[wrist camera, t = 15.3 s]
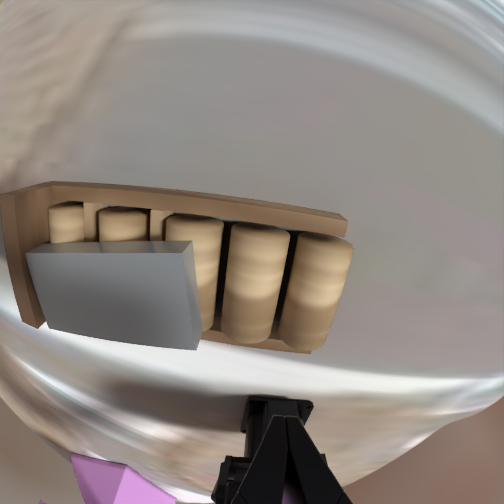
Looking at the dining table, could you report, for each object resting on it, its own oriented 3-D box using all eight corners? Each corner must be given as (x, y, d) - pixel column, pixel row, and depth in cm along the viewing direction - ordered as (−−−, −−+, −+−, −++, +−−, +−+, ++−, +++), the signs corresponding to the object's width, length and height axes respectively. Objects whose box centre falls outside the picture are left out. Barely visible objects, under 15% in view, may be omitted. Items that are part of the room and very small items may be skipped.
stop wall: (76, 293, 21) (37, 328, 15) (60, 289, 21) (22, 321, 15) (67, 181, 18) (14, 196, 12) (51, 181, 18) (-1, 195, 12)
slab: (202, 330, 17) (196, 350, 15) (62, 315, 18) (49, 328, 16) (192, 240, 15) (182, 253, 13) (42, 243, 16) (25, 253, 14)
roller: (158, 300, 20) (133, 322, 17) (123, 288, 21) (96, 307, 18) (159, 211, 18) (128, 222, 15) (120, 204, 18) (88, 214, 15)
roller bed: (316, 338, 21) (322, 367, 18) (72, 292, 21) (50, 311, 18) (350, 216, 17) (367, 230, 14) (63, 181, 18) (34, 188, 14)
